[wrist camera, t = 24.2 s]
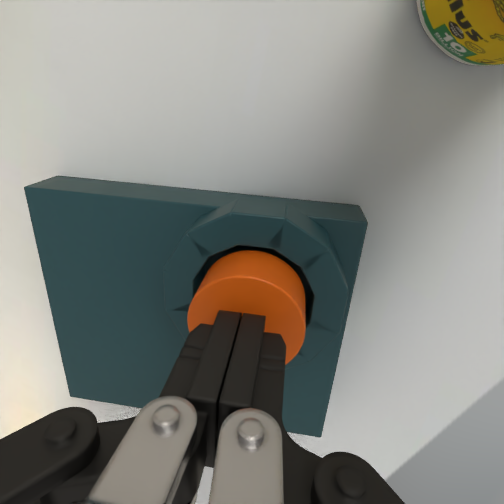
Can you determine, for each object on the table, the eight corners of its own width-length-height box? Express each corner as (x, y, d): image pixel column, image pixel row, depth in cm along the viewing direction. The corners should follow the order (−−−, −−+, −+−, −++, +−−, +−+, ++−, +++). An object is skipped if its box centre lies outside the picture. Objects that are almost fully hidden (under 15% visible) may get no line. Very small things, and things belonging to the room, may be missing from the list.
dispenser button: (312, 255, 12) (313, 284, 10) (298, 344, 14) (297, 382, 12) (202, 243, 13) (185, 268, 11) (202, 331, 14) (187, 366, 13)
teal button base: (361, 195, 15) (380, 227, 11) (319, 404, 20) (323, 472, 16) (55, 165, 16) (-17, 186, 12) (91, 368, 21) (48, 424, 18)
